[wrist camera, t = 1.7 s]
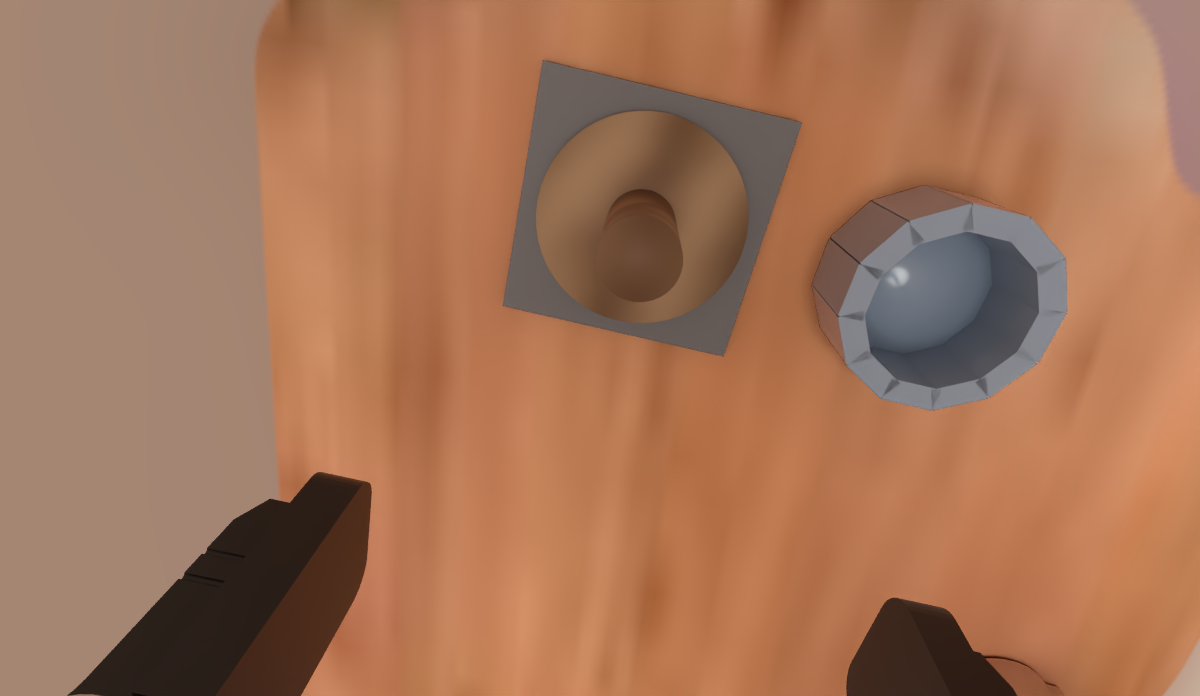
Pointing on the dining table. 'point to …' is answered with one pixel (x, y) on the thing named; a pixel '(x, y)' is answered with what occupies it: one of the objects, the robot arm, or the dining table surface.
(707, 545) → the dining table surface
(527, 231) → the coaster
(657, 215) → the lid
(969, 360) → the bowl
